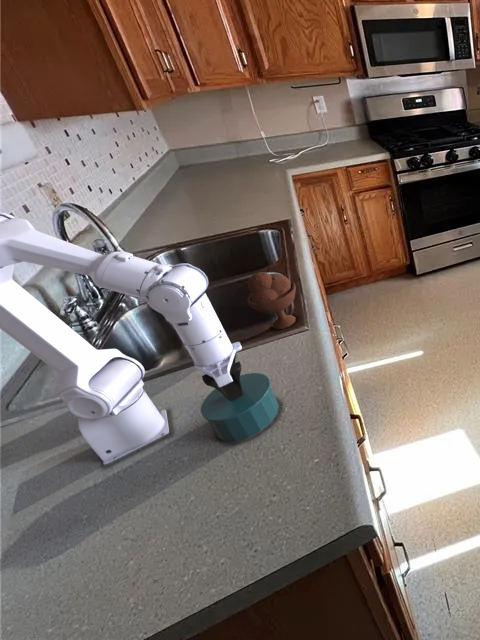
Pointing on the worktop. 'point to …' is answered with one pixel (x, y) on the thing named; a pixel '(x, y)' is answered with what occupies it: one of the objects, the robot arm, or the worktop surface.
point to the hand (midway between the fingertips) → (235, 393)
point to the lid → (224, 409)
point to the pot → (248, 420)
